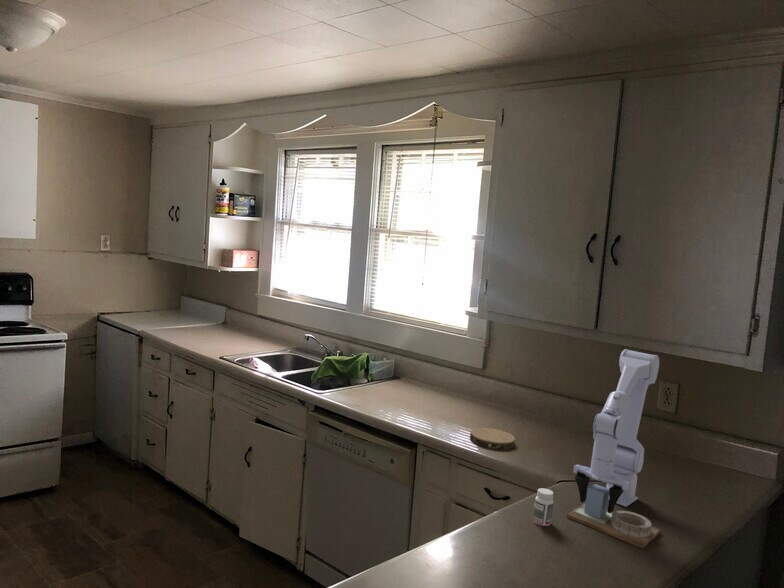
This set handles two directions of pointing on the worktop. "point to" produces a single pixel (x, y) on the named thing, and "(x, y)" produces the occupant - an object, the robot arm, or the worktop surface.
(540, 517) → the pill bottle
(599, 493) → the peg block
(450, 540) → the worktop surface
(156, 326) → the worktop surface
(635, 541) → the board
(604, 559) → the worktop surface
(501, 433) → the tan round disc
